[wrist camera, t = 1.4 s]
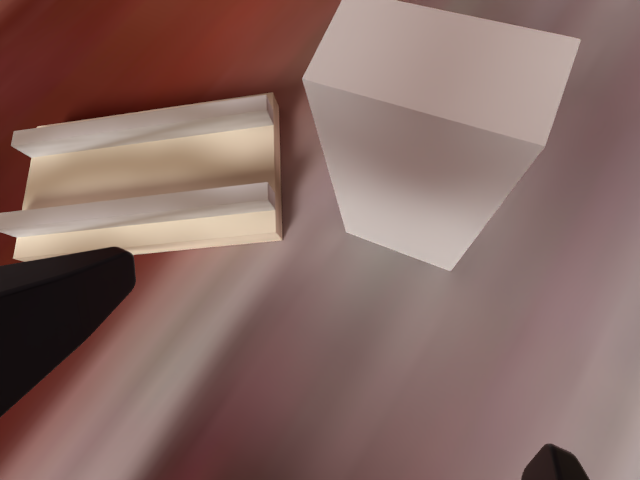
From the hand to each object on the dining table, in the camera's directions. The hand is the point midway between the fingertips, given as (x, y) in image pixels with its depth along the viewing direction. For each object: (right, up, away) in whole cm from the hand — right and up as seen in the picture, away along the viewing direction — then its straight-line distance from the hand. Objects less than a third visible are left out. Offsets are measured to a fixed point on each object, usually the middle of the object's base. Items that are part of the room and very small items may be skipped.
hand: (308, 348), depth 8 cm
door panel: (+5, +3, +14) cm, 15 cm away
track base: (-10, +6, +17) cm, 21 cm away
